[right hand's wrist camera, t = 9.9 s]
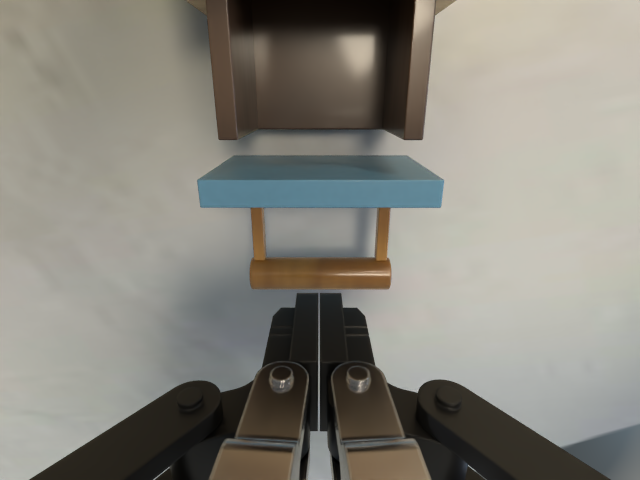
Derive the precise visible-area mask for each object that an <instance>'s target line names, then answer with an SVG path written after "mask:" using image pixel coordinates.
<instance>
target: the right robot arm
mask: <svg viewBox="0 0 640 480" xmlns="http://www.w3.org/2000/svg"><path fill="white" fill-rule="evenodd" d="M310 431H318V293H297V297H296V305H295V308H280V309H279V311H278V312H277V313H276V314H275V315H274V316H273V319H272V324H271V328H270V333H269V337H268V342H267V347H266V351H265V356H264V361H263V365H262V368H261V369H260V370H259V371H258V372H257V374H256V376H255V378H254V380H253V381H251V382H250V383H249V384H247V385H245V386H243V387H240V388H237V389H234V390H229V391H225V392H221V393H220V390H219V388H218V387H217V386H216V385H215V384H213V383H211V382H208V381H199V380H198V381H191V382H187V383H183V384H181V385H179V386H177V387H175V388H173V389H172V390H170V391H169V392H167V393H165V394H164V395H162V396H161V397H159V398H158V399H156V400H154V401H153V402H151V403H150V404H148V405H147V406H145V407H143V408H142V409H140V410H139V411H137V412H135V413H134V414H132V415H131V416H129V417H128V418H126V419H124V420H123V421H121V422H120V423H118V424H116V425H115V426H113V427H112V428H110V429H109V430H107V431H105V432H104V433H102V434H101V435H99V436H98V437H96V438H94V439H93V440H91V441H90V442H88V443H86V444H85V445H83V446H82V447H80V448H79V449H77V450H75V451H74V452H72V453H71V454H69V455H67V456H66V457H64V458H63V459H61V460H60V461H58V462H56V463H55V464H53V465H52V466H50V467H49V468H47V469H45V470H44V471H42V472H41V473H39V474H37V475H36V476H34V477H33V478H31V479H30V480H153V479H154V478H156V477H157V476H158V475H159V474H161V473H162V472H163V471H164V470H166V469H167V468H168V467H169V466H170V468H169V469H168V470H166V471H165V472H164V473H163V474H161V475H160V476H159V477H158V478H156V479H155V480H308V473H309V464H310ZM320 431H327V436H328V448H329V451H330V464H331V473H332V480H485V479H483V478H482V477H481V476H480V475H479V474H477V473H476V472H475V471H474V470H476V471H477V472H478V473H480V474H481V475H482V476H483V477H485V478H486V479H487V480H610V479H609V478H607V477H606V476H604V475H602V474H601V473H599V472H598V471H596V470H595V469H593V468H591V467H590V466H588V465H587V464H585V463H584V462H582V461H580V460H579V459H577V458H576V457H574V456H573V455H571V454H569V453H568V452H566V451H565V450H563V449H561V448H560V447H558V446H557V445H555V444H554V443H552V442H550V441H549V440H547V439H546V438H544V437H542V436H541V435H539V434H538V433H536V432H535V431H533V430H531V429H530V428H528V427H527V426H525V425H524V424H522V423H520V422H519V421H517V420H516V419H514V418H512V417H511V416H509V415H508V414H506V413H505V412H503V411H501V410H500V409H498V408H497V407H495V406H493V405H492V404H490V403H489V402H487V401H486V400H484V399H482V398H481V397H479V396H478V395H476V394H475V393H473V392H471V391H470V390H468V389H467V388H465V387H463V386H462V385H460V384H457V383H455V382H452V381H447V380H432V381H428V382H426V383H424V384H423V385H422V386H421V387H420V389H419V391H418V393H415V392H411V391H407V390H403V389H400V388H397V387H395V386H392V385H391V384H389V383H387V381H386V378H385V376H384V374H383V372H382V371H381V370H380V369H379V368H377V367H376V366H375V362H374V357H373V353H372V348H371V343H370V338H369V333H368V328H367V324H366V319H365V316H364V315H363V314H362V313H361V312H360V310H359V309H358V308H343V305H342V296H341V293H320ZM468 465H469V466H471V467H472V468H473V469H474V470H472V469H471V468H470V467H469V466H468Z"/></svg>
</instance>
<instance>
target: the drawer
mask: <svg viewBox="0 0 640 480" xmlns="http://www.w3.org/2000/svg"><path fill="white" fill-rule="evenodd" d="M205 1H206V11H207V22H208V33H209V43H210V54H211V65H212V75H213V86H214V97H215V107H216V118H217V129H218V139H219V140H238V139H240V138H242V137H244V136H246V135H248V134H250V133H252V132H254V131H256V130H258V129H384V130H386V131H388V132H390V133H392V134H394V135H396V136H397V137H399V138H401V139H403V140H423V134H424V123H425V113H426V102H427V92H428V81H429V71H430V61H431V50H432V40H433V29H434V19H435V9H436V0H205ZM197 182H198V191H199V199H200V207H202V208H251V219H252V234H253V249H254V258H252V260H251V264H250V285H251V288H252V289H389V288H390V285H391V264H390V260H389V258H387V250H388V235H389V221H390V208H440V207H441V203H442V194H443V186H444V180H443V179H442V178H440V177H439V176H437V175H436V174H434V173H432V172H431V171H429V170H428V169H426V168H425V167H423V166H422V165H420V164H419V163H417V162H416V161H414V160H413V159H411V158H410V157H408V156H232V157H231V158H229V159H228V160H226V161H225V162H224V163H222V164H221V165H219V166H218V167H216V168H215V169H213V170H212V171H210V172H209V173H207V174H206V175H204V176H203V177H201V178H200V179H198V180H197ZM264 208H377V222H376V239H375V257H266V240H265V222H264Z"/></svg>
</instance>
